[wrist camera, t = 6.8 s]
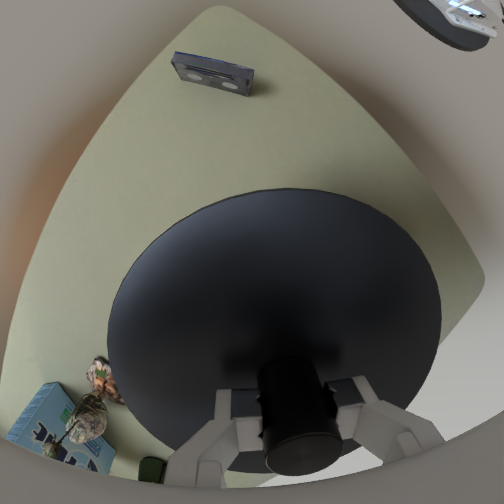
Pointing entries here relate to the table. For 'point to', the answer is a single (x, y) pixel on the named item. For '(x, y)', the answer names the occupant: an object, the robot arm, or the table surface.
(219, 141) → the table surface
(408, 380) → the tin lid
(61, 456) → the gum box
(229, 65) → the mini dv tape
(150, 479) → the character mug
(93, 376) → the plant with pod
